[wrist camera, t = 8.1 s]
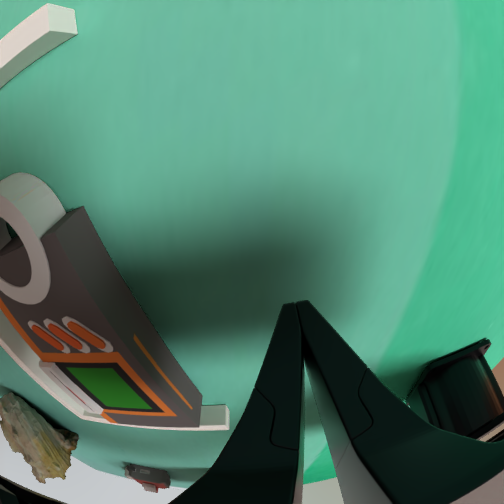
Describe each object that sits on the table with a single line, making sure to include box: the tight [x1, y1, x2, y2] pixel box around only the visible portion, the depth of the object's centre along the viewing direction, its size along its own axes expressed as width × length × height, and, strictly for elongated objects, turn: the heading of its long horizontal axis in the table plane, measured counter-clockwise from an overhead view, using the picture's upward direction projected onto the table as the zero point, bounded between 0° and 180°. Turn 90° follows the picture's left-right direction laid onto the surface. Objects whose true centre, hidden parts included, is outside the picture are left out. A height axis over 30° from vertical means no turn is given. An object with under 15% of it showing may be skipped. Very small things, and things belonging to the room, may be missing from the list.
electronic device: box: [0, 172, 202, 428], centre depth 11 cm, size 7×3×15 cm
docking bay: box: [0, 3, 229, 430], centre depth 10 cm, size 12×23×2 cm, turn 10°
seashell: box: [0, 393, 79, 484], centre depth 19 cm, size 11×14×10 cm
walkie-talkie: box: [125, 464, 171, 493], centre depth 36 cm, size 9×4×20 cm
